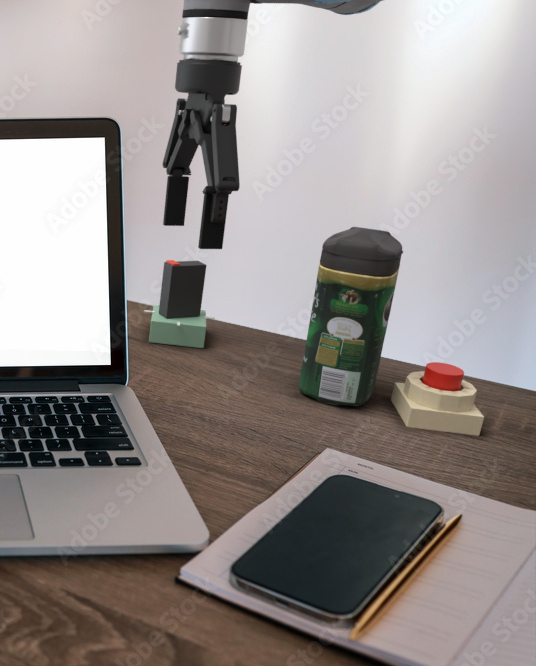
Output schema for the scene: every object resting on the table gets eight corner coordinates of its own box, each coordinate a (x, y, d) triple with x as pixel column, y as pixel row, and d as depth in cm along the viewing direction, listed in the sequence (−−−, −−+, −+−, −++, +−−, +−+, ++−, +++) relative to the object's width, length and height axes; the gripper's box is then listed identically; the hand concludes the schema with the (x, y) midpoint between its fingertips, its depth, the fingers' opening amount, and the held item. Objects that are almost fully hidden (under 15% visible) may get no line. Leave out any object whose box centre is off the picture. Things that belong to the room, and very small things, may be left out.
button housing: (457, 408, 85) (466, 374, 84) (479, 436, 79) (489, 400, 78) (390, 400, 87) (398, 367, 85) (406, 427, 80) (415, 392, 79)
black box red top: (191, 311, 104) (198, 258, 101) (200, 316, 102) (207, 263, 99) (158, 313, 102) (164, 260, 100) (166, 318, 100) (172, 264, 98)
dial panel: (210, 329, 106) (213, 307, 105) (212, 352, 98) (215, 329, 97) (143, 322, 108) (146, 300, 107) (139, 344, 99) (142, 321, 98)
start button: (453, 382, 83) (458, 364, 82) (464, 395, 80) (469, 377, 79) (417, 378, 84) (422, 360, 83) (427, 391, 80) (431, 372, 80)
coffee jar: (308, 370, 94) (336, 218, 88) (377, 386, 90) (411, 229, 84) (288, 397, 86) (317, 232, 80) (363, 415, 82) (400, 244, 76)
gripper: (148, 57, 102) (135, 216, 109) (219, 57, 79) (196, 259, 86) (202, 59, 103) (186, 217, 110) (288, 60, 80) (260, 260, 87)
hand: (190, 236), depth 98 cm, fingers open, 13 cm apart
